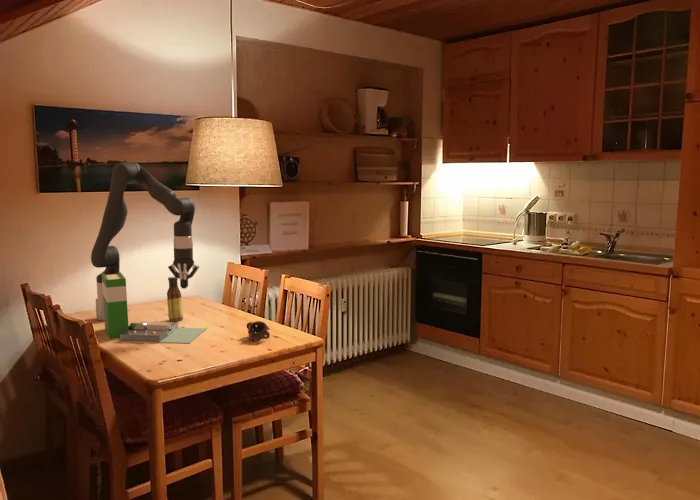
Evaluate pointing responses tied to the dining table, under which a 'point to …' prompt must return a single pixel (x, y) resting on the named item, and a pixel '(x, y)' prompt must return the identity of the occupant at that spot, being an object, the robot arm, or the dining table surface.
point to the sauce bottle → (174, 300)
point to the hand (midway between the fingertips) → (184, 288)
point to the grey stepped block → (143, 333)
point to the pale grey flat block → (162, 326)
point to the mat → (179, 336)
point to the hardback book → (115, 304)
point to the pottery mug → (257, 330)
